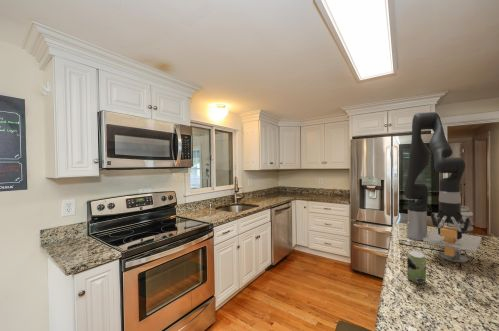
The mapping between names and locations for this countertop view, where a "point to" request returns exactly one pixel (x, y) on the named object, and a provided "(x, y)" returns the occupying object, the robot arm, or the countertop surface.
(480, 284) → the countertop surface
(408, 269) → the beverage can
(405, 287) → the countertop surface
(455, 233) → the orange block
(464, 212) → the apothecary jar
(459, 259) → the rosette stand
